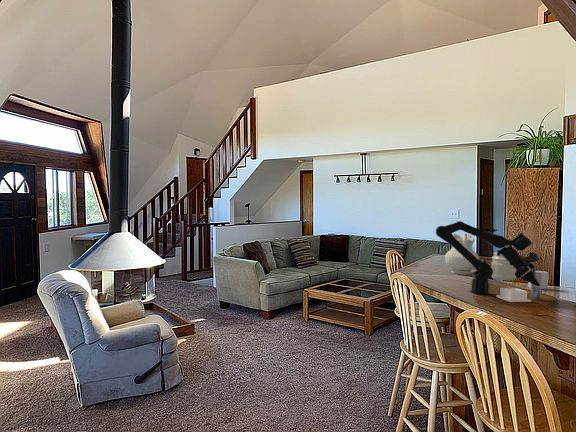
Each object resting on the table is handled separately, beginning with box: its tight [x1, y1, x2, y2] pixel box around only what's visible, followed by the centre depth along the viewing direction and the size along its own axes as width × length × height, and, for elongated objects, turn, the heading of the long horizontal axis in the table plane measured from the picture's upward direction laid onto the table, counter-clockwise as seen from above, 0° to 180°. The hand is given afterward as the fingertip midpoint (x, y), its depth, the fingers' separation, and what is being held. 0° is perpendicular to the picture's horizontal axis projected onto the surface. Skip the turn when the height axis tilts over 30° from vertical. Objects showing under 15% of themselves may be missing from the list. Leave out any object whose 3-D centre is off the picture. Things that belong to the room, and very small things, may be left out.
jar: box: [490, 251, 517, 281], centre depth 253 cm, size 13×13×18 cm
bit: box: [529, 272, 542, 301], centre depth 197 cm, size 4×4×12 cm
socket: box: [495, 287, 532, 303], centre depth 196 cm, size 10×10×4 cm
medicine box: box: [527, 270, 550, 290], centre depth 225 cm, size 8×4×9 cm, turn 84°
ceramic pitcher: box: [444, 232, 480, 276], centre depth 268 cm, size 22×20×25 cm
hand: (539, 284), depth 196 cm, fingers closed on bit, 4 cm apart
